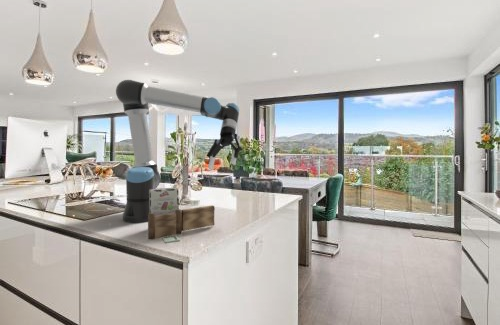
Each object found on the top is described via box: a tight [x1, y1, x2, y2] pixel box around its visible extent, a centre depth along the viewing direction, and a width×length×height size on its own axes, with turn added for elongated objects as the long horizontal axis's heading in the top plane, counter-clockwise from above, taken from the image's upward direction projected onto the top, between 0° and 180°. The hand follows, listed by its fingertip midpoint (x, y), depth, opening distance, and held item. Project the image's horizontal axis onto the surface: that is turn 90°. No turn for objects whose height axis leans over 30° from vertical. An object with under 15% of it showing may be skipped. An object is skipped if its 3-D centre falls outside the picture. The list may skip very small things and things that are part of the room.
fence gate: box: [181, 205, 216, 232], centre depth 113 cm, size 14×2×8 cm, turn 129°
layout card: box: [161, 234, 181, 244], centre depth 100 cm, size 6×5×1 cm
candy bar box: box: [149, 187, 180, 216], centre depth 113 cm, size 11×5×16 cm, turn 114°
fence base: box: [147, 208, 183, 241], centre depth 104 cm, size 13×2×9 cm, turn 129°
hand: (221, 166), depth 131 cm, fingers open, 13 cm apart
